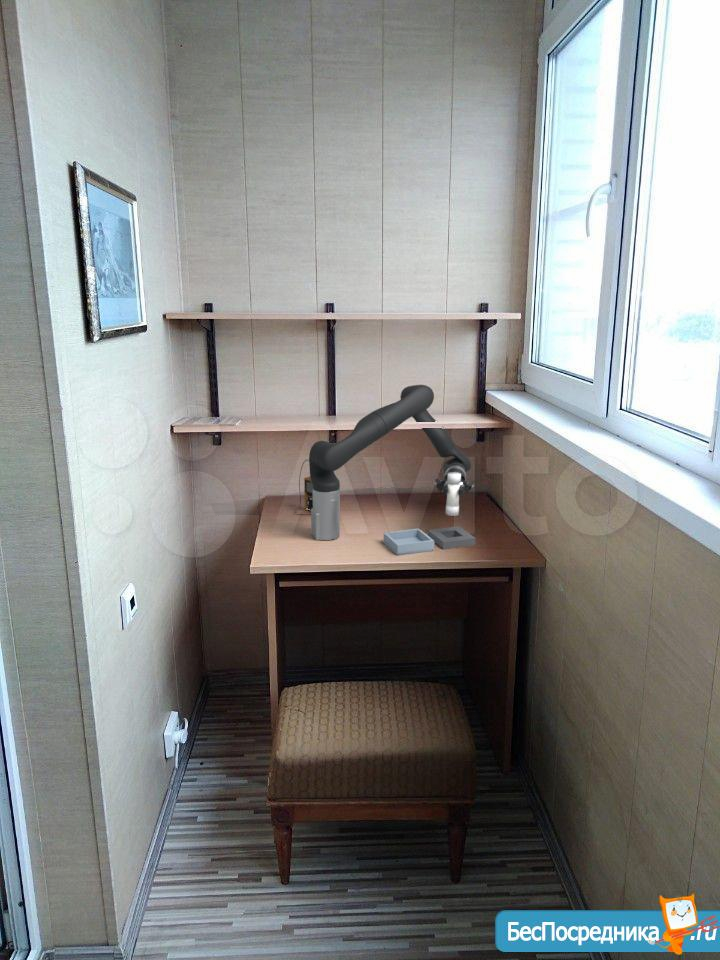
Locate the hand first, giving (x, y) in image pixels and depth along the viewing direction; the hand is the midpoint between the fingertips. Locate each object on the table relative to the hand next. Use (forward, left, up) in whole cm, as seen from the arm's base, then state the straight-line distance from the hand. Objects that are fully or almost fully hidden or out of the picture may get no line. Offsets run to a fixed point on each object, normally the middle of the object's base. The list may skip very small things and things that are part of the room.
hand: (453, 492), depth 223 cm
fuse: (+1, +2, -9) cm, 9 cm away
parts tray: (-15, +2, -18) cm, 24 cm away
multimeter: (-38, +45, -19) cm, 62 cm away
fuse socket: (+1, +2, -18) cm, 19 cm away
